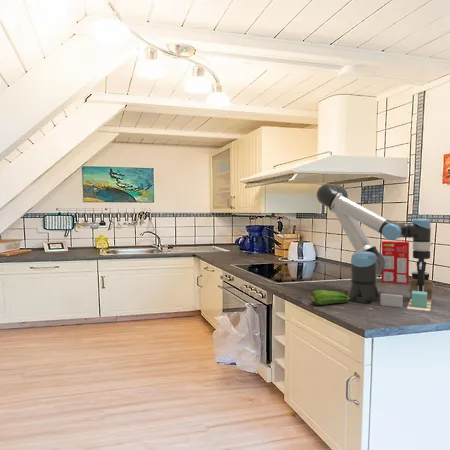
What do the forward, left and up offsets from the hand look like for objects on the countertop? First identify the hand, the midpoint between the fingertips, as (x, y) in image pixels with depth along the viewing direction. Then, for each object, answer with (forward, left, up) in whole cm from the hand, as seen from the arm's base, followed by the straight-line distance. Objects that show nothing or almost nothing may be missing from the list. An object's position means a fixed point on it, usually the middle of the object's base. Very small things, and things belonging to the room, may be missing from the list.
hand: (420, 297), depth 177 cm
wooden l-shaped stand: (-6, -9, -2) cm, 11 cm away
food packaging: (+10, +42, -2) cm, 43 cm away
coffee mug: (+11, +18, -2) cm, 21 cm away
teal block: (-8, -12, 0) cm, 15 cm away
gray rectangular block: (-25, -18, -2) cm, 31 cm away
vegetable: (-45, 0, -2) cm, 45 cm away
